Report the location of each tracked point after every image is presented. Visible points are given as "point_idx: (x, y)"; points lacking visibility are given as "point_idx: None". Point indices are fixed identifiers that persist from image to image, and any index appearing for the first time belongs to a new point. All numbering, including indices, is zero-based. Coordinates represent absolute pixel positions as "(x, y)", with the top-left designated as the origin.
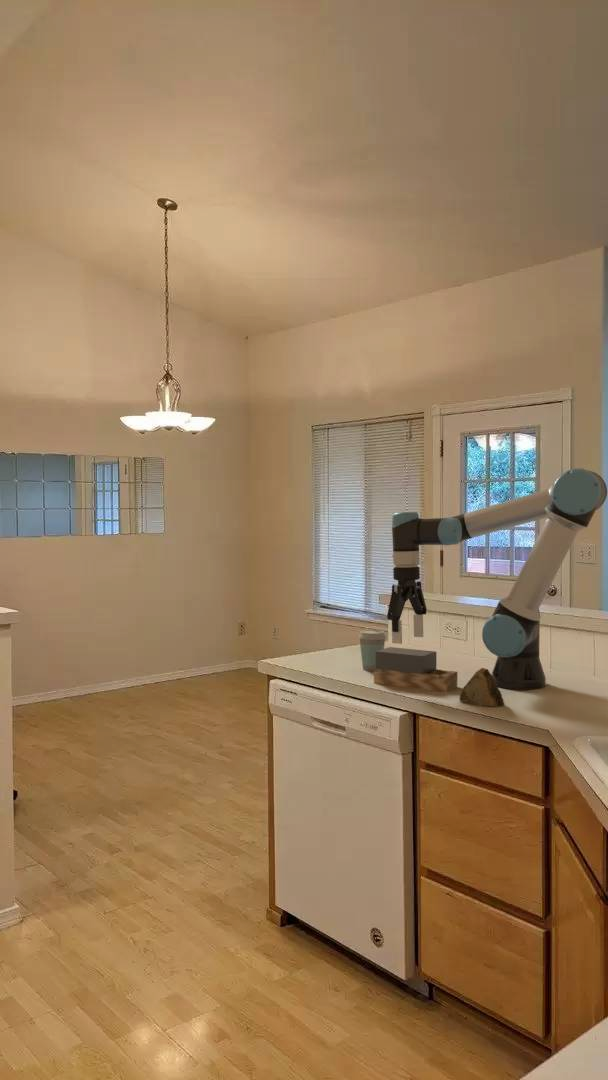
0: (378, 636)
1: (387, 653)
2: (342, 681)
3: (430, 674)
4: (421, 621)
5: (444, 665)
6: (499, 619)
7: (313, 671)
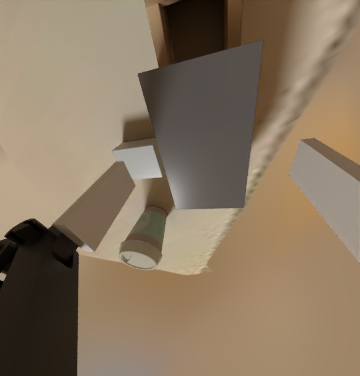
0: (143, 247)
1: (246, 181)
2: (239, 208)
3: (240, 20)
4: (89, 200)
5: (55, 165)
6: None
7: (207, 245)
